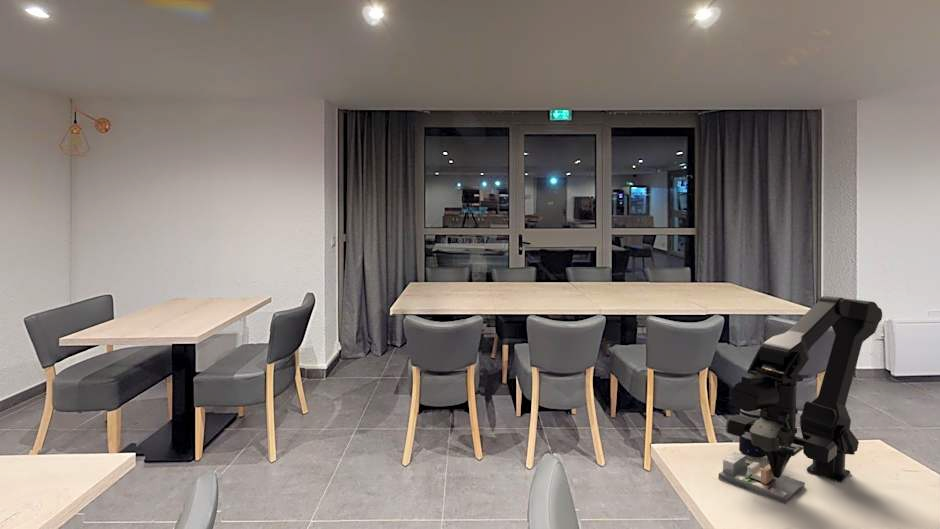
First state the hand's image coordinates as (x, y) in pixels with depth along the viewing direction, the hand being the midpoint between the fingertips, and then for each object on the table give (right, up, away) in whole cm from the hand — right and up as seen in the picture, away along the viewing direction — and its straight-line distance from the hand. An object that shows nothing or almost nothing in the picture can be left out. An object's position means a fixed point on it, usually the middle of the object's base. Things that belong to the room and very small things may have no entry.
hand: (777, 477), depth 101 cm
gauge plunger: (-3, -1, +2) cm, 3 cm away
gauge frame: (-2, -2, +3) cm, 4 cm away
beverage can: (+4, -2, +15) cm, 16 cm away
